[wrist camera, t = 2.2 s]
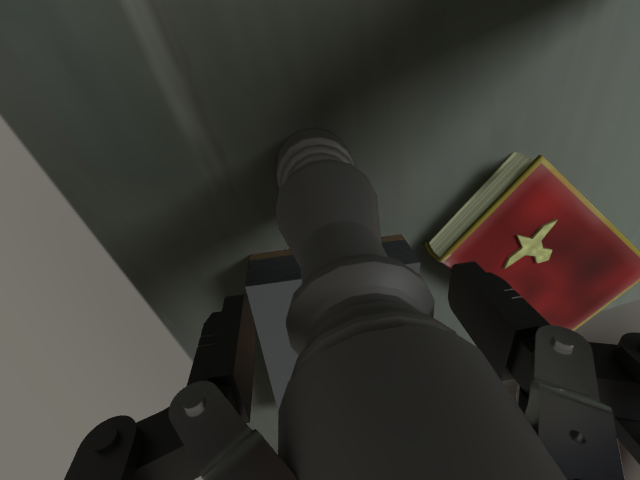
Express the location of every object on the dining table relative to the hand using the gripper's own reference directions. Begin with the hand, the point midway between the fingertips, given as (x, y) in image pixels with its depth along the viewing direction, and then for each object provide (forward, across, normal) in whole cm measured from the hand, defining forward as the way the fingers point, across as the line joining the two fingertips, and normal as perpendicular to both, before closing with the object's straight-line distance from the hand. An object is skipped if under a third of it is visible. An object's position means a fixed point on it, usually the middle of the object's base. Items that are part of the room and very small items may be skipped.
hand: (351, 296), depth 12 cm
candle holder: (+18, 0, 0) cm, 18 cm away
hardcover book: (+18, -22, +12) cm, 31 cm away
